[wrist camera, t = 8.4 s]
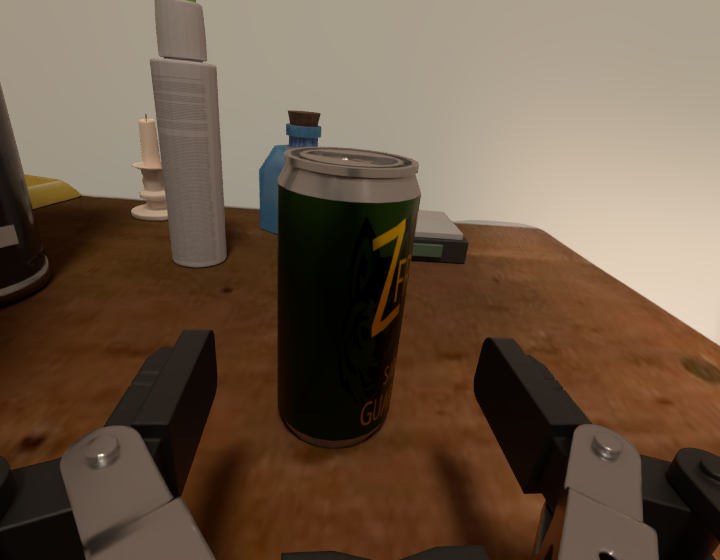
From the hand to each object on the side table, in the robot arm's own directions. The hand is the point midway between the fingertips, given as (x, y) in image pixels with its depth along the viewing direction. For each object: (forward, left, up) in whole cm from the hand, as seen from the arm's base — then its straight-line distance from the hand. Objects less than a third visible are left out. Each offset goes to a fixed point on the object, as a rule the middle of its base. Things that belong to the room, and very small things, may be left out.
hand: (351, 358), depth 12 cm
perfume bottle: (+9, +32, -7) cm, 34 cm away
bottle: (-2, +26, -7) cm, 27 cm away
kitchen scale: (+19, +25, -7) cm, 32 cm away
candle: (-5, +40, -7) cm, 41 cm away
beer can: (+2, +5, -7) cm, 9 cm away
